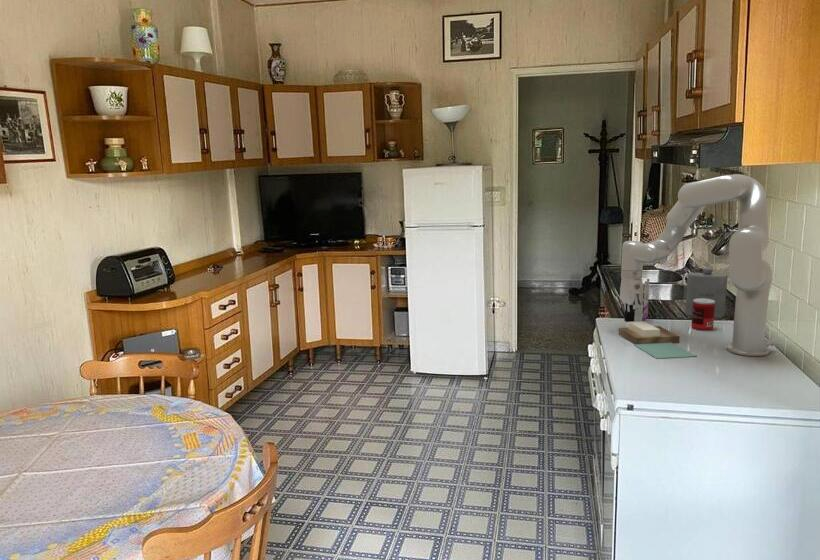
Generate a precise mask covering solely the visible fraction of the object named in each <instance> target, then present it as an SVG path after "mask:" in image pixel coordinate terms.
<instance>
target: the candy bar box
mask: <svg viewBox="0 0 820 560" xmlns="http://www.w3.org/2000/svg"><path fill="white" fill-rule="evenodd" d="M642 284H643V304H642V305H639V304H638V309H636V310H635V316H634V322H636V321H644V322H646V320H647V319H648V318H649V302H650V301H649V298H650V278H647V277H642Z"/></svg>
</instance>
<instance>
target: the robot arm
mask: <svg viewBox="0 0 820 560" xmlns="http://www.w3.org/2000/svg"><path fill="white" fill-rule="evenodd" d="M765 190H766V189H765V188H764V187H763V186H762V184H761V183H760V182H759V181H758V180H757V179H755V178H753V177H751V176H748V175H745V174H738V173H735V174H726V175H721V176H717V177H712V178H707V179H703V180H697V181H692V182H687V183H685V184H684V185H682V186H681V187H680V188H679V190H678V192H677V199H678V200H677V202H676V203H675V204H674V205H673V206H672V208H671V209H670V210H669V212H667V215H666V223H665V224H666V225H665V227H664V228H663V230H662V232H661V233H660V235H659V236H658V237H657V239H656V240H654V241H651V242H646V243H643V242H642V241H639V240H626V241H624V242H623V243H622V247H621V249H622V251H621V267H620V268H621V271H620V278H621V282H620V289H619V299H620V301H621V302H622V304H623V306H624V307H623V308H624V309H623V310H624V318H623V319H624V322H625V323H628V322H634V316H635V310H636V309H638V304H639V305H642V304H643V284H642V278H643V267H644V264H648V265H649V264H650V265H652V264H655V263H658V262H662V261H664V260H666V259H667V258H669V257H670V256H671V254H672V253H674V250H676V248H677V247H678V246H679V244H680V243H681V242H682V240H683V238H684V237H685V236H686V233H687V231H688V229H689V227H691V225H692V224H693V223H694V221H695V220H696V219H697V218H698V216H699V215H700V214H701V213H702V212H703V211H704V209H705V208H706V207H707V206H711V205H716V204H723V203H727V202H728V203H729V202H732V201H737V202H738V211H737V212H738V213H737V218H738V219H737V220H738V224H737V225H738V229H737V230H736V231H734V233H732V235H731V236H730V240H729V243H728V253H729V254H728V259H729V261H728V262H729V263H728V264H729V268H728V269H729V279H730V282H731V283H732V286H734V287H735V288H736V295H735V304H734V305H735V307H734V316H733V317H734V318H733V328H732V329H733V331H732V341H731V342H729V343H728V344H727V345H726V351H729V352H730V353H733V354H736V355H741V356H746V357H747V356H749V357H761V356H762V357H764V356H767V355H769V353H770V350H769V348H768V347H770V346H771V347H772V346H775V347H776V346H778V344H779V342H778V340H777V339H769V338H766V327H767V320H768V319H767V318H768V308H769V307H768V306H769V298H770V297H769V296H770V292H771V291H770V290H771V285H772V280H773V271H772V267H771V265H770V263H768V262H767V261H766V260H765V259H763V252H764V251H766V250H767V247H768V246H769V243H770V242H769V241H770V238H769V216H768V215H769V214H768V199H767V193H766V191H765Z"/></svg>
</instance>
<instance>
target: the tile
mask: <svg viewBox="0 0 820 560" xmlns="http://www.w3.org/2000/svg"><path fill="white" fill-rule="evenodd" d="M627 324H628V325H627V328H628V329H630V330H632V331H634V332H635V333H637V334H639V335H641V336H643V337H655V336H660V329H658V328H656V327H654V325H652V324H650V323H649V322H646V321H636V322H627Z"/></svg>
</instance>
